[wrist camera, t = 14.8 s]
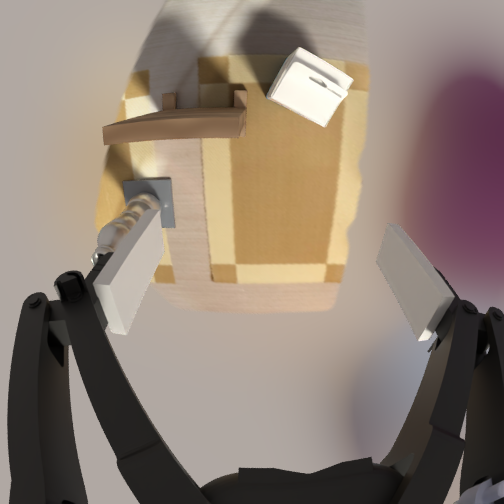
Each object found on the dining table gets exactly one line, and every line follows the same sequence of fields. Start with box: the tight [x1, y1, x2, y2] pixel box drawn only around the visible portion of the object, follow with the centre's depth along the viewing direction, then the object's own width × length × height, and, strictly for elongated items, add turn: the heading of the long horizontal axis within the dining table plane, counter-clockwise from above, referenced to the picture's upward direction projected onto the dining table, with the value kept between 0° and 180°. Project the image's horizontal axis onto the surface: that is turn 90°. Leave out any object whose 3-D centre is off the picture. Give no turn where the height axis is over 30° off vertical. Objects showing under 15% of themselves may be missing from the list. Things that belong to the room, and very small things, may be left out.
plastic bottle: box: [92, 193, 161, 266], centre depth 42 cm, size 6×7×20 cm
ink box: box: [266, 47, 353, 127], centre depth 34 cm, size 9×8×13 cm
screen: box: [103, 90, 247, 145], centre depth 33 cm, size 8×14×22 cm, turn 88°
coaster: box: [123, 179, 175, 228], centre depth 51 cm, size 10×10×1 cm
